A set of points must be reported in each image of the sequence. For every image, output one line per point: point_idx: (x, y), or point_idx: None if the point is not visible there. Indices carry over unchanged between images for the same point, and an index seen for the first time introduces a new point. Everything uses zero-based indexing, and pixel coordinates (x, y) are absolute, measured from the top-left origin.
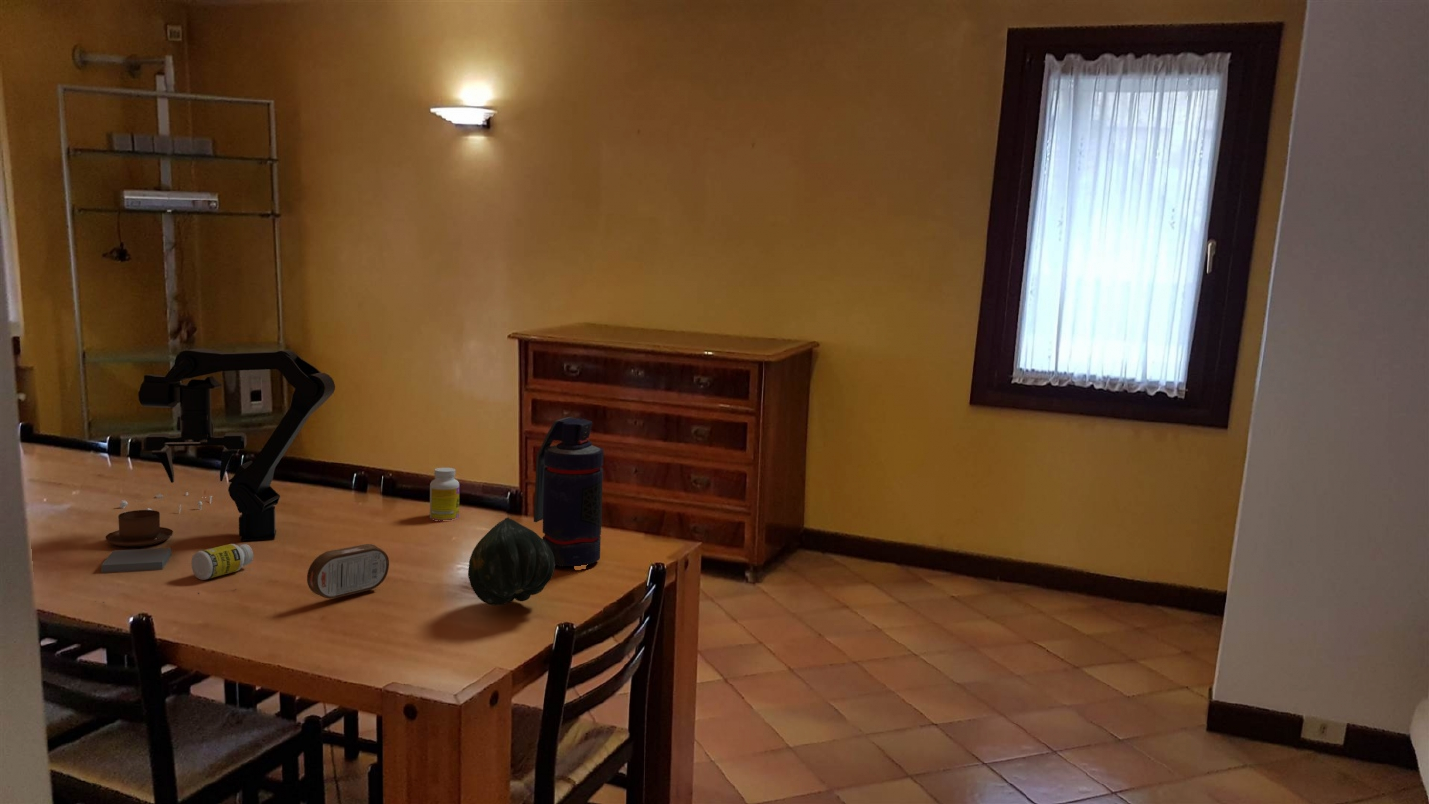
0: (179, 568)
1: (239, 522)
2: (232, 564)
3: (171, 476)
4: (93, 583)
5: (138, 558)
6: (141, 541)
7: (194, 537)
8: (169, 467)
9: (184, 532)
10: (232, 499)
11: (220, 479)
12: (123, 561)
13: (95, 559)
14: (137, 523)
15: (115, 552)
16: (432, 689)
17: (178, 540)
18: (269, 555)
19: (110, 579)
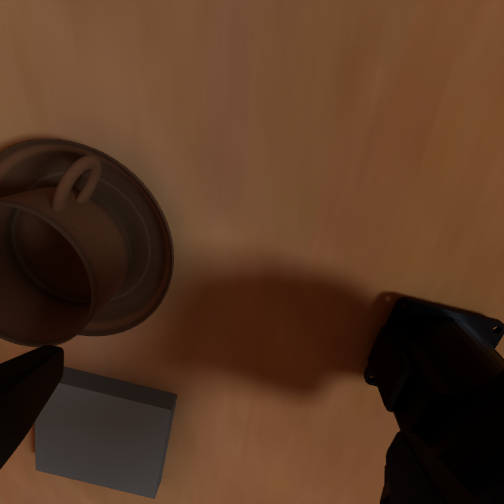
0: (193, 487)
1: (381, 396)
2: None
3: (16, 434)
4: (48, 499)
5: (103, 458)
6: (89, 335)
7: (246, 246)
8: None
9: (220, 159)
10: (385, 487)
11: (390, 475)
12: (75, 465)
13: (9, 357)
14: (39, 333)
15: None
16: None
17: (197, 262)
18: None
19: (73, 492)
